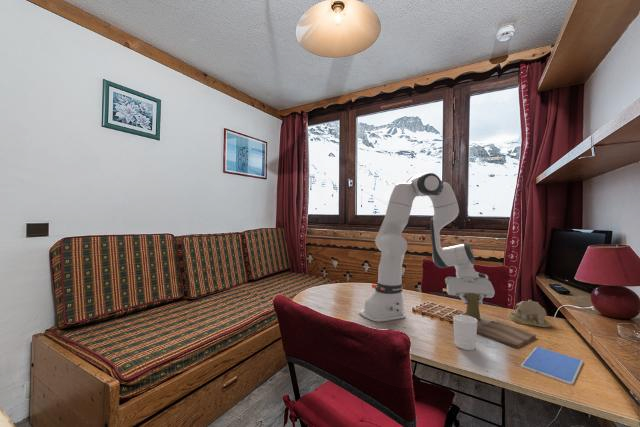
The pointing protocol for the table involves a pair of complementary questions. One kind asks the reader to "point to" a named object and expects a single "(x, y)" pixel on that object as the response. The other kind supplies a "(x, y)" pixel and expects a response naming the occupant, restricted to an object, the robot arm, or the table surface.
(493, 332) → the walnut board
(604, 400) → the table surface
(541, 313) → the ceramic model
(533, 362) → the tablet computer
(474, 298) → the olive green waisted column
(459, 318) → the white cup
